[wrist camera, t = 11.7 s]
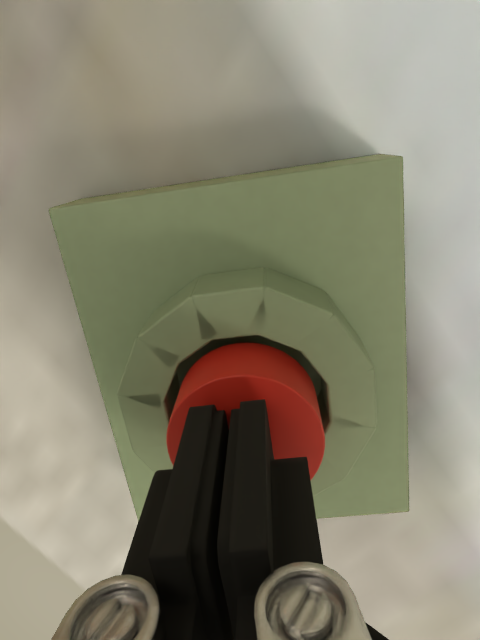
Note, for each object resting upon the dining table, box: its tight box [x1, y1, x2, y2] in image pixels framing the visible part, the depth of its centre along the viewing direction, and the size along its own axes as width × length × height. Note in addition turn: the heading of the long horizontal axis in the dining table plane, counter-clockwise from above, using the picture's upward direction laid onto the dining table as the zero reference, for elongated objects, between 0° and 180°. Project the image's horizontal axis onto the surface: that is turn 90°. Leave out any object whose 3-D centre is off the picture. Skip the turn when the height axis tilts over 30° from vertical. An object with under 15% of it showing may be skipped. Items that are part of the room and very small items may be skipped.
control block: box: [49, 154, 409, 521], centre depth 13 cm, size 11×9×4 cm
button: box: [166, 342, 325, 480], centre depth 11 cm, size 4×4×2 cm
